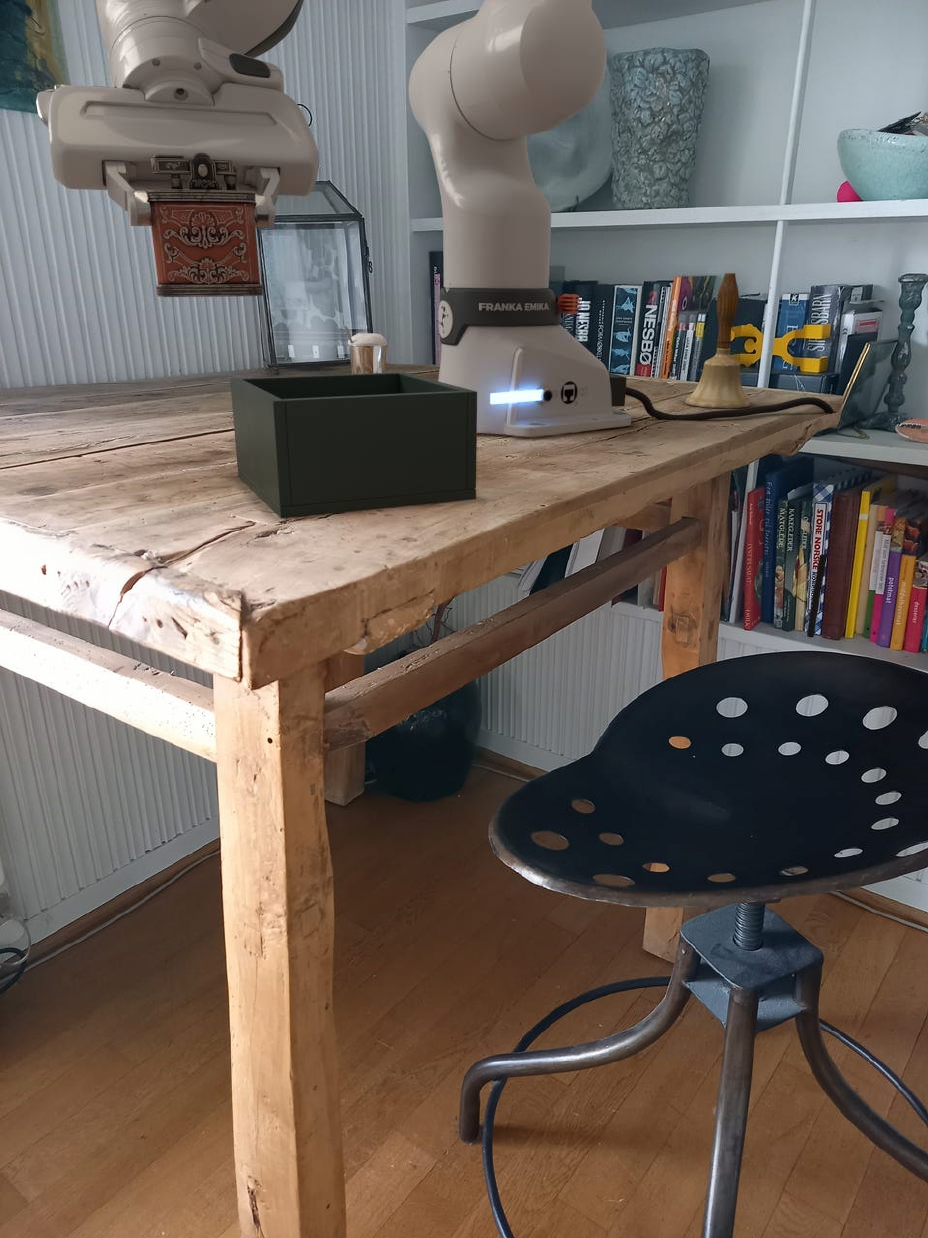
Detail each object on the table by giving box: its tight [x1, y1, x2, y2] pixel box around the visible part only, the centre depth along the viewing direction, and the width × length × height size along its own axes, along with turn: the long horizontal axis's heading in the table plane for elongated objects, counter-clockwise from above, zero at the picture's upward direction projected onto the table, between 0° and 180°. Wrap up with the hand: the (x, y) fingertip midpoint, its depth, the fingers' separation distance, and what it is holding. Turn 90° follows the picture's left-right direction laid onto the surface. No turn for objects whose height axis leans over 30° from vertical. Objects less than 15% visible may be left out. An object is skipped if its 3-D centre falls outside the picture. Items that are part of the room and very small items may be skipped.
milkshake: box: [344, 325, 388, 374], centre depth 106 cm, size 4×5×10 cm
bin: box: [229, 371, 478, 519], centre depth 69 cm, size 15×15×8 cm
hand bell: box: [684, 272, 752, 409], centre depth 115 cm, size 8×8×16 cm
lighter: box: [144, 153, 264, 298], centre depth 69 cm, size 8×3×10 cm, turn 102°
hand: (205, 220), depth 68 cm, fingers closed on lighter, 8 cm apart
